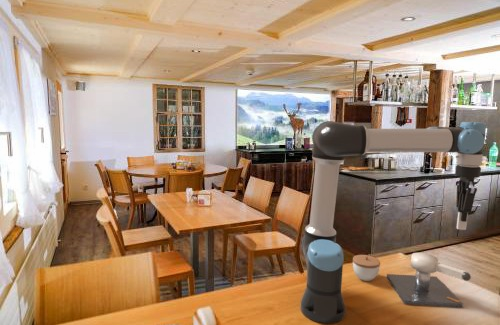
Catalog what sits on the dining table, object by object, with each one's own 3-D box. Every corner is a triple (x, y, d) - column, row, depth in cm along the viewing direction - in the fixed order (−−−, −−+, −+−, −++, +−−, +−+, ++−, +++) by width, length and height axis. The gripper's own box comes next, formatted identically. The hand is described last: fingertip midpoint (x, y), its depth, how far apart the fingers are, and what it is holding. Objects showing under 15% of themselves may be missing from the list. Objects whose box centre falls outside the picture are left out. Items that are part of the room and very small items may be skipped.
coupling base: (404, 304, 121) (406, 279, 120) (386, 277, 141) (388, 255, 139) (462, 307, 119) (465, 282, 118) (436, 280, 139) (438, 258, 138)
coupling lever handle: (406, 266, 129) (407, 256, 128) (416, 260, 135) (417, 250, 134) (465, 287, 114) (466, 276, 114) (474, 279, 120) (475, 268, 119)
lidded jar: (347, 271, 145) (349, 251, 144) (371, 271, 146) (372, 250, 145) (358, 284, 135) (359, 262, 133) (383, 283, 136) (385, 261, 134)
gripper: (450, 162, 127) (444, 222, 130) (463, 167, 114) (455, 233, 118) (473, 163, 125) (466, 224, 129) (488, 168, 113) (480, 236, 116)
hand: (461, 228), depth 123 cm, fingers closed
